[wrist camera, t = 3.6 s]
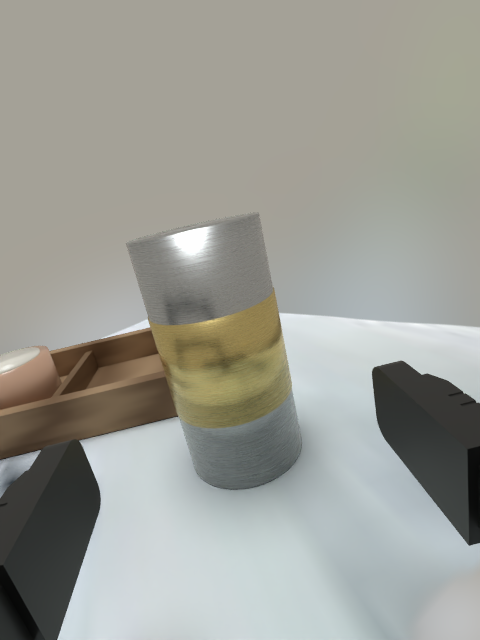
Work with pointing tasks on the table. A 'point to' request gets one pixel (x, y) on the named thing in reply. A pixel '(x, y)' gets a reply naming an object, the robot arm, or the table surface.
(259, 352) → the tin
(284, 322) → the table surface
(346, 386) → the table surface
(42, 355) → the ramekin
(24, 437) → the tray
